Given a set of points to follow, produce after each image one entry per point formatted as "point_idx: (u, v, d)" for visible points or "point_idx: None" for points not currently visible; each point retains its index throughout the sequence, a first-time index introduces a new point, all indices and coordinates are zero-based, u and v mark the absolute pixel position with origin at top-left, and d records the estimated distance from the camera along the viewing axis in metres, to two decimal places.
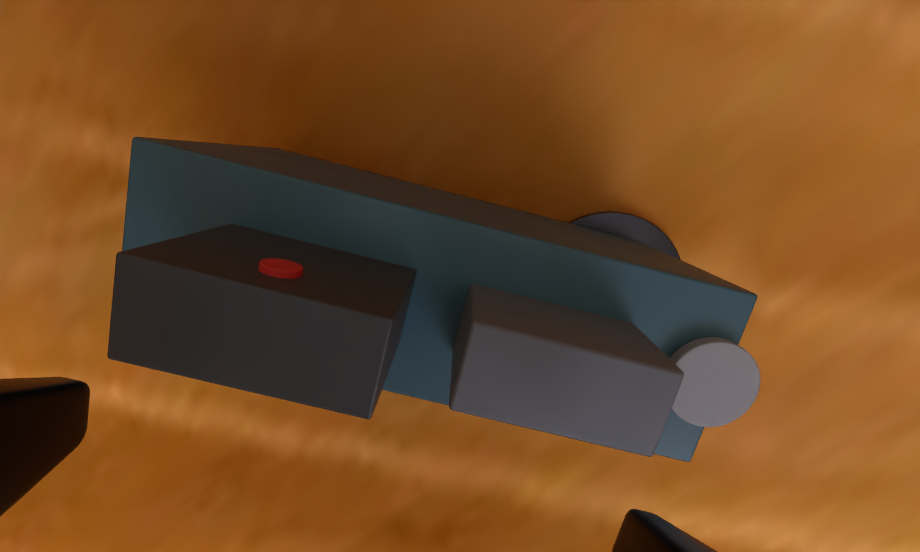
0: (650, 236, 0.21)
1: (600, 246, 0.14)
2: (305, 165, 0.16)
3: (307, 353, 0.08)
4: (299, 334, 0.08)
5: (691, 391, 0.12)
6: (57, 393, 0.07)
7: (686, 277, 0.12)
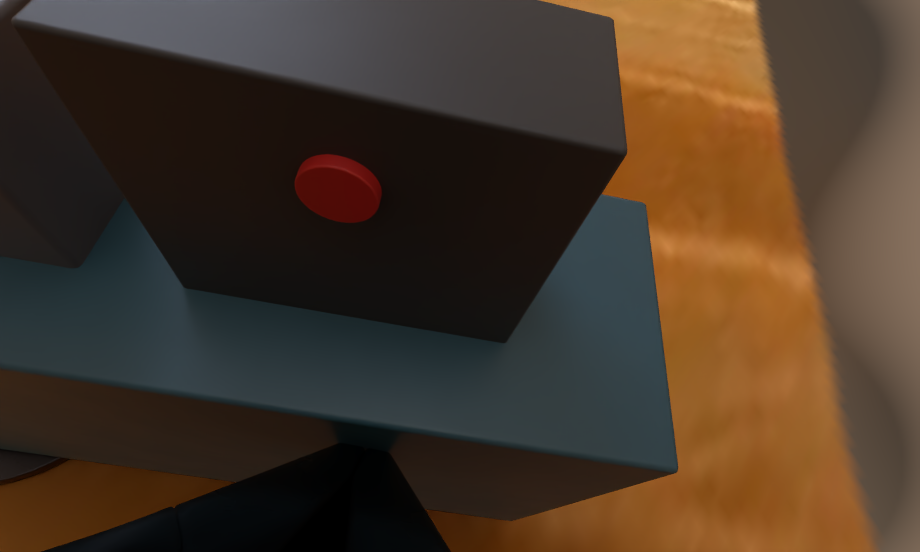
0: None
1: None
2: (439, 484, 0.10)
3: None
4: (248, 15, 0.04)
5: None
6: None
7: None
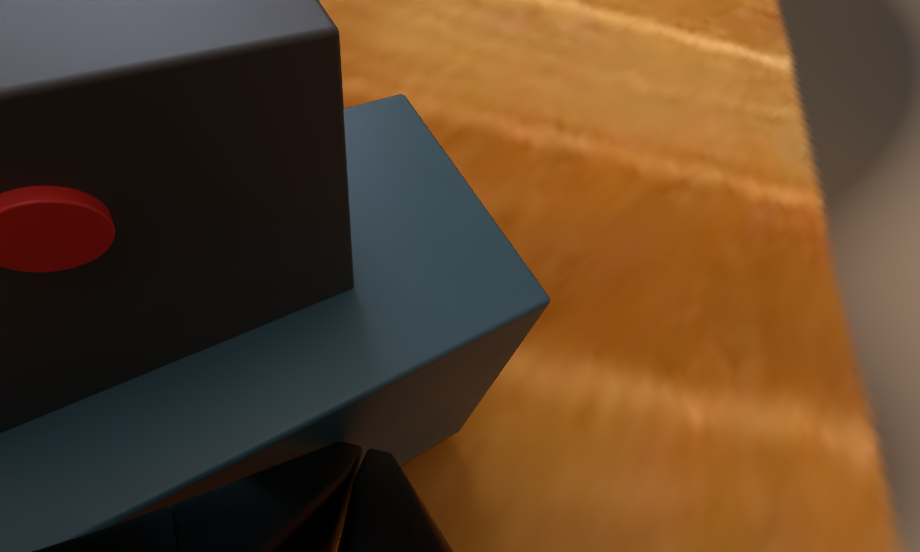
0: None
1: None
2: (378, 447, 0.10)
3: None
4: None
5: None
6: None
7: None
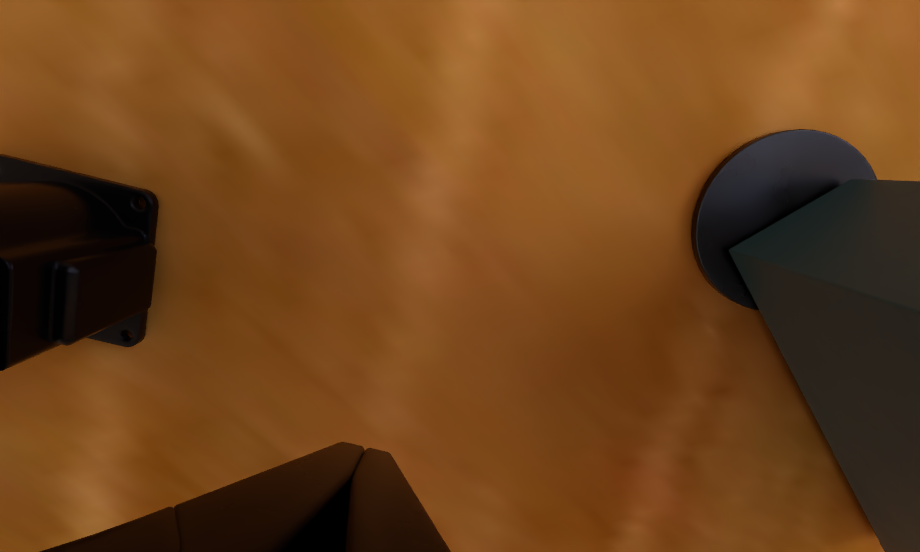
0: (730, 177, 0.18)
1: None
2: None
3: None
4: None
5: None
6: None
7: None
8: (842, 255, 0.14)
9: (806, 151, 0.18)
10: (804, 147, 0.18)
